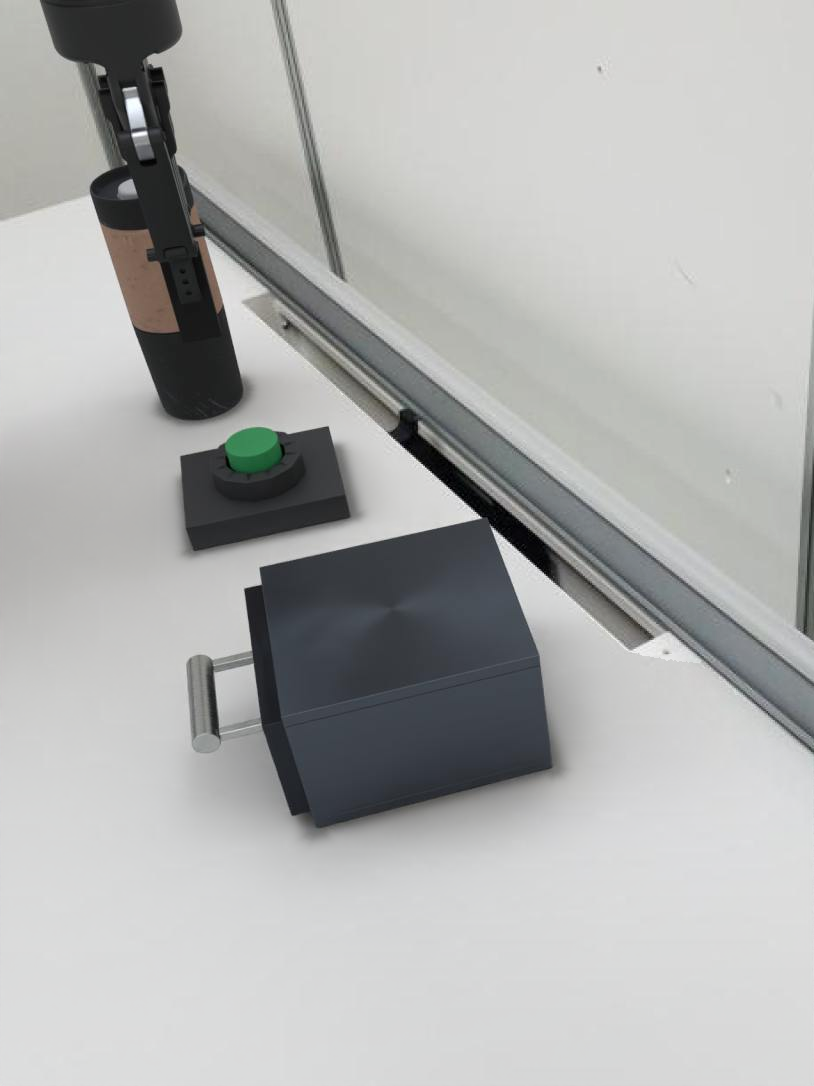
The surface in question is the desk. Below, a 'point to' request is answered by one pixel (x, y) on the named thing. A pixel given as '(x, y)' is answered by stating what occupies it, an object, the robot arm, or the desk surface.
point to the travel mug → (165, 307)
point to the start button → (253, 450)
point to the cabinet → (404, 670)
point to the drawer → (270, 723)
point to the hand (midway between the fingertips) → (201, 334)
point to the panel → (262, 491)
